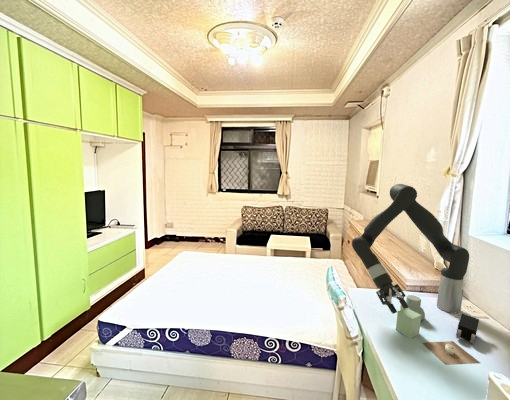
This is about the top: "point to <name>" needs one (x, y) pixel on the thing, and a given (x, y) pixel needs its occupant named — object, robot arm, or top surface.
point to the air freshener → (414, 305)
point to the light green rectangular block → (408, 322)
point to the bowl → (449, 349)
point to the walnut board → (447, 359)
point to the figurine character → (467, 328)
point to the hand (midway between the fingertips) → (400, 310)
